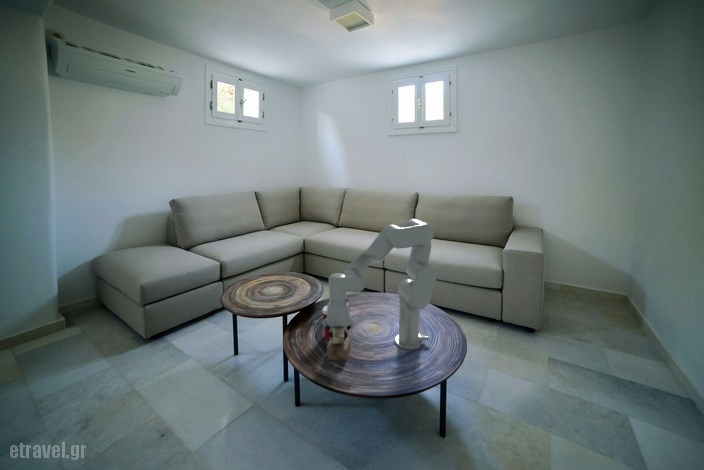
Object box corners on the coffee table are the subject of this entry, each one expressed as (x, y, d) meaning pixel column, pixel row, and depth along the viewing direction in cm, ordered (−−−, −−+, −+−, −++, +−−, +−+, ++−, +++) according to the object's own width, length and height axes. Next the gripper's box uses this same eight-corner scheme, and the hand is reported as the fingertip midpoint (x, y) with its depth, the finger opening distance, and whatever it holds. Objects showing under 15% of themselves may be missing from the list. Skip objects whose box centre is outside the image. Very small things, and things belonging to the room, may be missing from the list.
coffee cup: (337, 340, 148) (336, 312, 144) (320, 339, 149) (319, 311, 146) (341, 331, 156) (340, 305, 152) (325, 330, 157) (324, 303, 154)
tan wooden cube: (350, 349, 141) (350, 337, 140) (346, 361, 133) (346, 349, 131) (332, 347, 143) (331, 335, 141) (327, 359, 134) (326, 347, 133)
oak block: (344, 337, 138) (344, 323, 137) (344, 343, 133) (343, 329, 132) (333, 337, 138) (333, 323, 137) (332, 343, 134) (332, 329, 132)
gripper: (357, 297, 135) (357, 333, 139) (319, 297, 135) (321, 333, 140) (357, 305, 128) (357, 343, 132) (317, 305, 128) (319, 343, 132)
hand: (338, 338), depth 136 cm, fingers closed on oak block, 5 cm apart
